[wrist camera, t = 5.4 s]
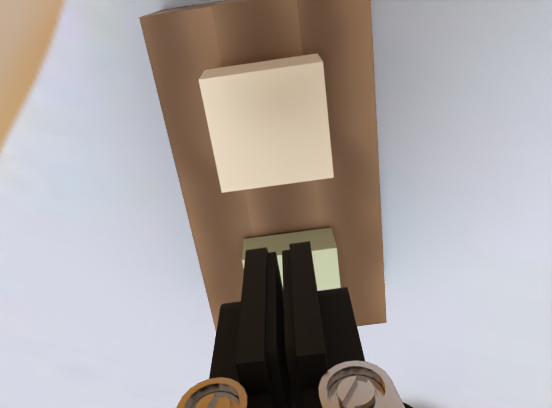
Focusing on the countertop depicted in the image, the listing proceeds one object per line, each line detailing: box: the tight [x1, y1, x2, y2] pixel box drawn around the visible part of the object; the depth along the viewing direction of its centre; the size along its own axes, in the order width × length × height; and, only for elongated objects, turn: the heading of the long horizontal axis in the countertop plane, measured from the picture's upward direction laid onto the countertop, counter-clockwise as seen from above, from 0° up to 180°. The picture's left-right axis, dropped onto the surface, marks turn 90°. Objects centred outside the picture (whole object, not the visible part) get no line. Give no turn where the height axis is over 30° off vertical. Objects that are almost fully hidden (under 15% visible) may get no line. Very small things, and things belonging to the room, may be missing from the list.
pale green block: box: [242, 228, 341, 291], centre depth 32 cm, size 6×6×7 cm
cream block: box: [199, 53, 334, 193], centre depth 26 cm, size 6×6×7 cm
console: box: [140, 0, 386, 331], centre depth 32 cm, size 12×22×6 cm, turn 8°
